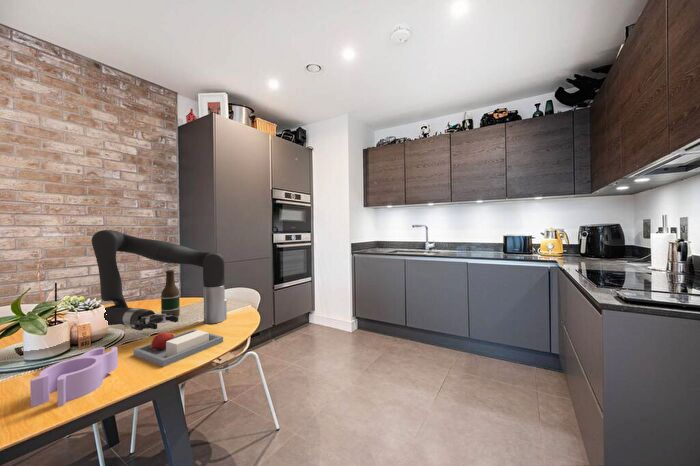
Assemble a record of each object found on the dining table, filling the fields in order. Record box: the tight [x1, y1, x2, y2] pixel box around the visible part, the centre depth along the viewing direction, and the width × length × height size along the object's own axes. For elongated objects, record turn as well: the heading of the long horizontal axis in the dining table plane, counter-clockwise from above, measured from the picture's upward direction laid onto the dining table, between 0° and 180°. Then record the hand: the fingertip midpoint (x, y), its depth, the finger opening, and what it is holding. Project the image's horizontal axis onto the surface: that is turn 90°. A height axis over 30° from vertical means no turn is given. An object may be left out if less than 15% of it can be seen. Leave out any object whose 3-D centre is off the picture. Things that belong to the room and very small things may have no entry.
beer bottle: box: [160, 269, 181, 320], centre depth 141 cm, size 8×8×24 cm
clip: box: [29, 346, 119, 408], centre depth 81 cm, size 20×12×7 cm, turn 2°
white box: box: [166, 329, 210, 357], centre depth 101 cm, size 12×6×5 cm, turn 154°
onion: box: [149, 331, 175, 350], centre depth 102 cm, size 6×6×8 cm
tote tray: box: [133, 328, 224, 368], centre depth 103 cm, size 22×18×3 cm
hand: (167, 322), depth 109 cm, fingers open, 8 cm apart
